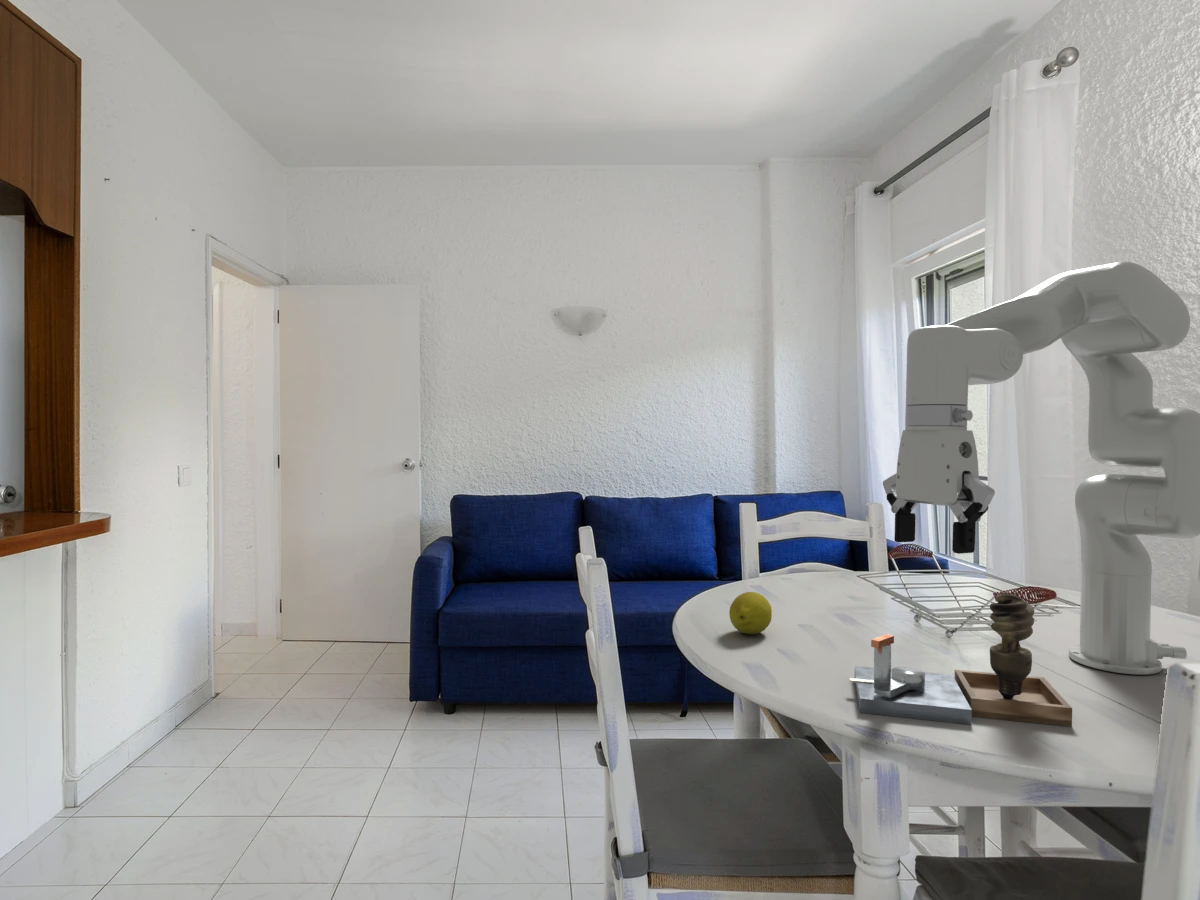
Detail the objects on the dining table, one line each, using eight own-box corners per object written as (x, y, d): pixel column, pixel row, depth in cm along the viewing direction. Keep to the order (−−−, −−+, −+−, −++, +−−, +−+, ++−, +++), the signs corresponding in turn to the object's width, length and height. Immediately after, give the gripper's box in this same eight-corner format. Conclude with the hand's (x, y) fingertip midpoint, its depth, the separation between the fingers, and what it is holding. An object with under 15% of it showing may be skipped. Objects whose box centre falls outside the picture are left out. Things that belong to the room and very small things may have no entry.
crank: (901, 676, 106) (902, 622, 105) (930, 684, 102) (931, 629, 102) (859, 694, 99) (860, 636, 98) (889, 703, 95) (889, 644, 95)
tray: (1043, 694, 104) (1043, 677, 104) (1071, 726, 93) (1072, 708, 93) (954, 685, 108) (954, 669, 108) (971, 716, 97) (971, 698, 96)
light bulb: (993, 688, 104) (994, 588, 104) (1036, 697, 101) (1037, 593, 100) (985, 700, 100) (986, 595, 99) (1029, 709, 97) (1031, 601, 96)
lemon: (744, 624, 142) (744, 585, 142) (780, 631, 137) (780, 590, 137) (717, 636, 134) (717, 595, 134) (755, 644, 129) (755, 601, 129)
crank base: (952, 687, 107) (952, 673, 107) (971, 724, 94) (971, 708, 94) (847, 677, 112) (847, 664, 112) (852, 711, 98) (852, 696, 98)
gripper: (1014, 419, 88) (1011, 556, 88) (906, 421, 104) (904, 537, 104) (971, 418, 85) (967, 559, 85) (867, 420, 101) (864, 539, 101)
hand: (932, 547), depth 95 cm, fingers open, 9 cm apart
